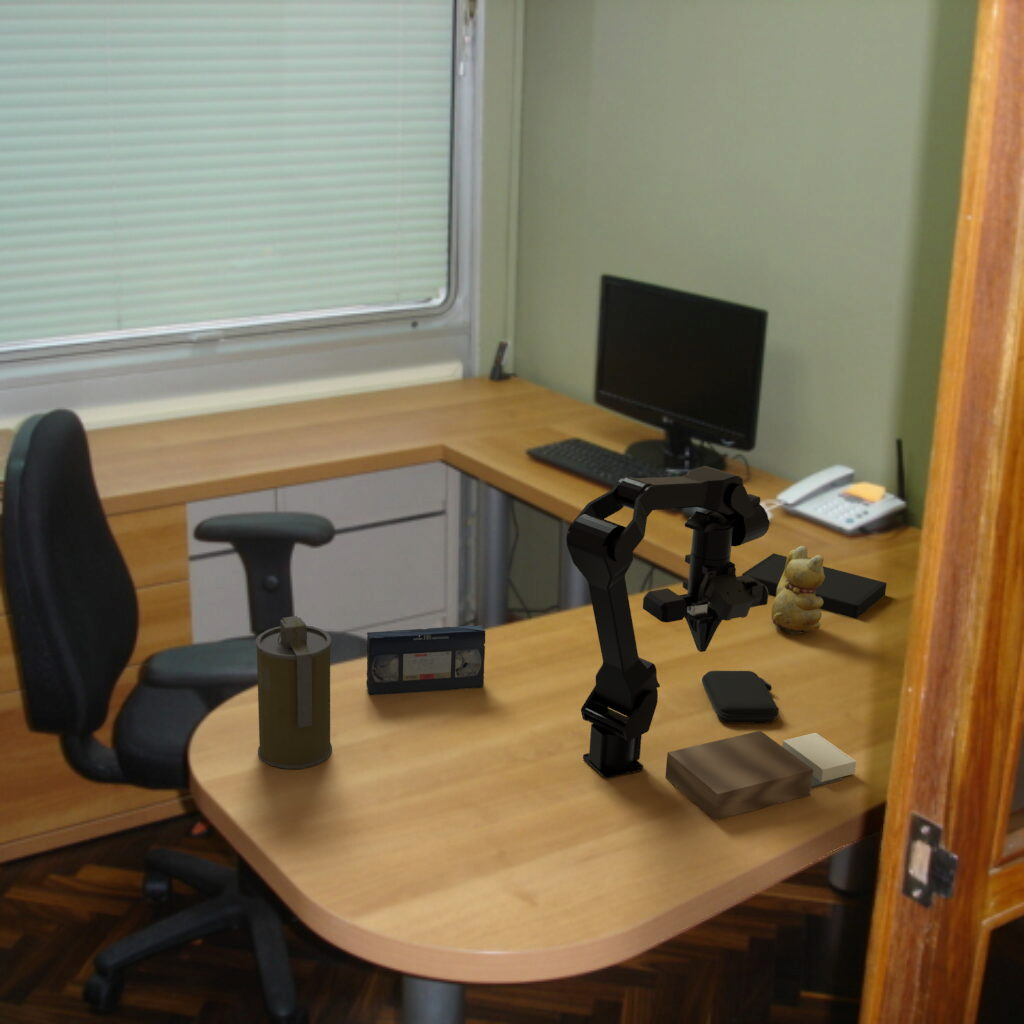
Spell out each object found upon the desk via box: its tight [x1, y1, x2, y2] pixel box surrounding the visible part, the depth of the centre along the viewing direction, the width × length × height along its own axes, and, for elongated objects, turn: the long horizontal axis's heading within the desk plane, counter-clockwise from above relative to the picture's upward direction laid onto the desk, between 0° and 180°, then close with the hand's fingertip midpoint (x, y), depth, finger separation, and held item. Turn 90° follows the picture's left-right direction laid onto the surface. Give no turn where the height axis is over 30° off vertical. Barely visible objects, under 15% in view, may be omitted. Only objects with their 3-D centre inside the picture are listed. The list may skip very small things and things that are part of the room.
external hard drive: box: [741, 553, 887, 620], centre depth 260 cm, size 14×23×3 cm, turn 55°
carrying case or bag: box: [701, 670, 780, 724], centre depth 215 cm, size 11×3×15 cm
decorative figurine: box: [770, 545, 825, 635], centre depth 240 cm, size 10×8×15 cm
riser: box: [665, 730, 813, 821], centre depth 191 cm, size 16×12×4 cm
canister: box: [254, 615, 333, 770], centre depth 192 cm, size 11×10×20 cm
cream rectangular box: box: [781, 732, 857, 782], centre depth 198 cm, size 6×9×2 cm, turn 27°
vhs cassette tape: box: [365, 624, 486, 696], centre depth 214 cm, size 18×3×10 cm, turn 102°
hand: (701, 650), depth 204 cm, fingers closed
